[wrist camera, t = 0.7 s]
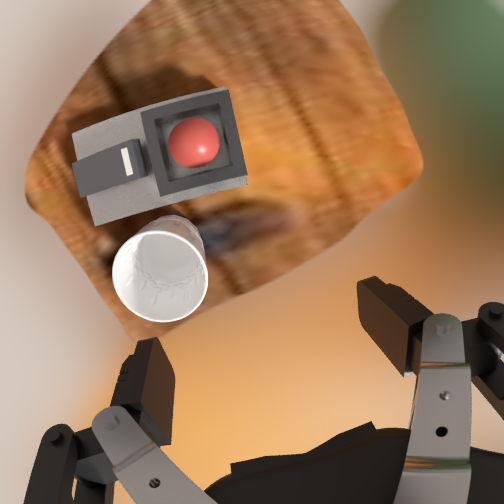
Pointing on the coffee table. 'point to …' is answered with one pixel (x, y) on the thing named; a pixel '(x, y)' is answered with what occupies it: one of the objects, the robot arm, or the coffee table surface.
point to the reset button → (193, 142)
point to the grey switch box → (165, 155)
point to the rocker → (110, 167)
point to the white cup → (162, 270)
